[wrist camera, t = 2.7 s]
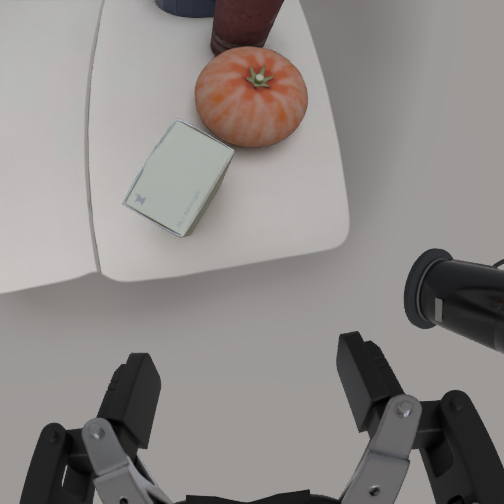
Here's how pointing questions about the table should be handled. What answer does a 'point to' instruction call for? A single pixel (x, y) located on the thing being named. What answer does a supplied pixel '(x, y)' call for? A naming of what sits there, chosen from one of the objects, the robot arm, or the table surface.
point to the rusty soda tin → (242, 23)
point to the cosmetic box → (179, 178)
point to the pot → (188, 7)
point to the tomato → (251, 96)
